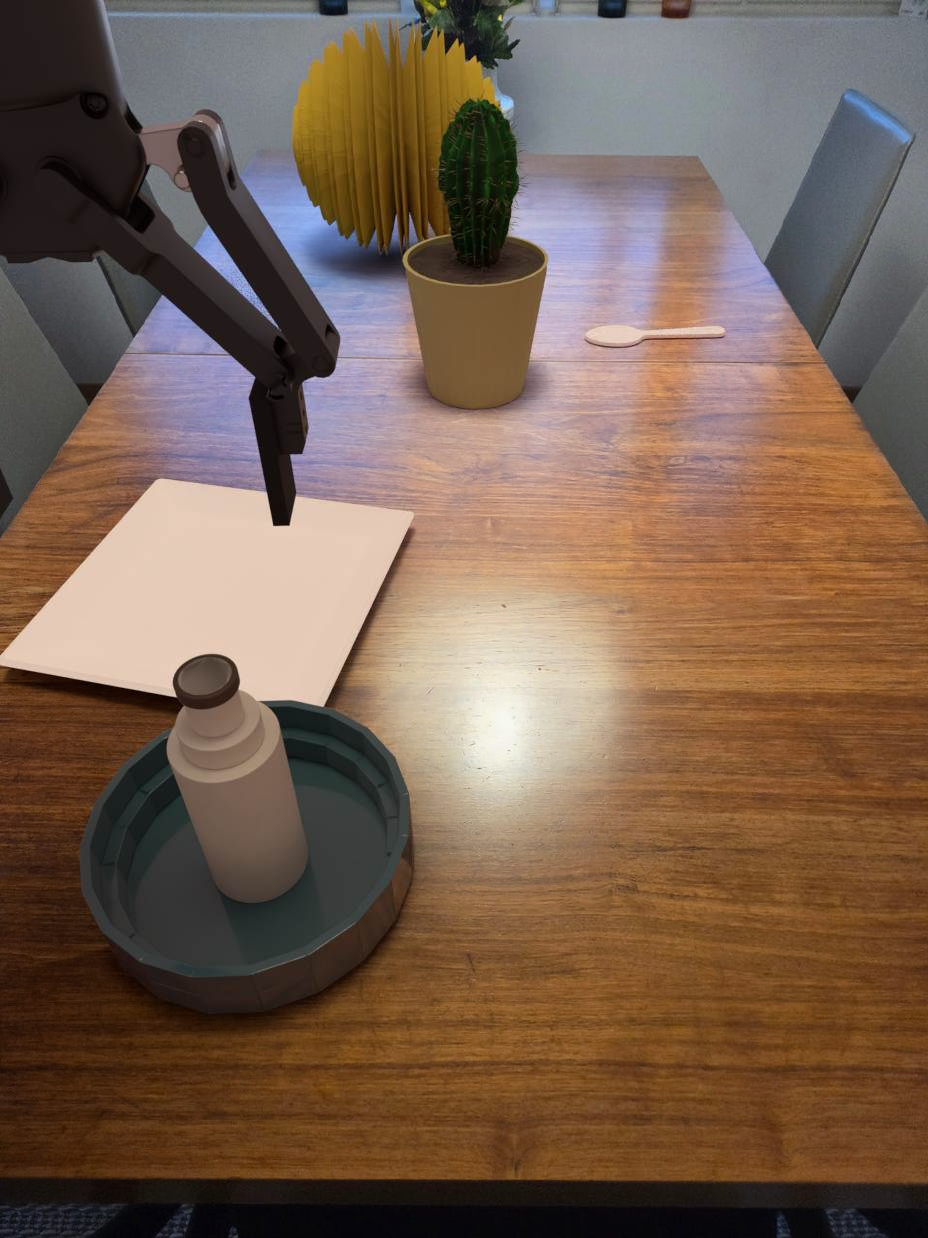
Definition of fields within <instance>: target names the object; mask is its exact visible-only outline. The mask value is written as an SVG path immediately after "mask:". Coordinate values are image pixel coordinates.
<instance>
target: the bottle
mask: <svg viewBox="0 0 928 1238" xmlns="http://www.w3.org/2000/svg"><path fill="white" fill-rule="evenodd" d="M239 685H240V677H239V673H238V669H237V666H236V665H235V663H234V662H233V661H232V660H231V659H230V658H228V657H226V656H223V655H219V654H204V655H200V656H196V657H194V658H192V659H190V660H188V661H186V662H185V663H183V664H182V665H181V666H180V667H179V668H178V669H177V671H176V672H175V674H174V677H173V688H174V690H175V693H176V696H177V697H176V698H177V700H178V701H179V703H181V705H183V706H182V707H181V709H180V711H179V712H178V714H177V716H176V720H175V722H174V723H175V724H174V726H173V727H174V728H173V727H172V728H173V729H172V731H171V733H170V735H169V738H168V742H167V756H168V760H169V762H170V765H171V768H172V770H173V773H174V776H175V778H176V781H177V784H178V786H179V789H180V792H181V794H182V797H183V799H184V802H185V805H186V807H187V810H188V813H189V815H190V818H191V821H192V823H193V826H194V829H195V831H196V834H197V837H198V839H199V842H200V845H201V847H202V850H203V853H204V855H205V858H206V861H207V863H208V866H209V868H210V871H211V874H212V876H213V879H214V881H215V884H216V885H217V887H218V888H219V890H220V891H221V892H222V893H223V894H225V895H226V896H227V897H229V898H231V899H233V900H236V901H239V902H243V903H260V902H265V901H269V900H272V899H274V898H277V897H279V896H281V895H282V894H284V893H285V892H287V891H288V890H289V889H291V888H292V887H293V886H294V885H295V884H296V883H297V882H298V880H299V879H300V878H301V876H302V874H303V873H304V870H305V868H306V865H307V861H308V847H307V843H306V838H305V834H304V829H303V825H302V821H301V816H300V812H299V808H298V803H297V799H296V795H295V790H294V786H293V782H292V777H291V773H290V769H289V764H288V760H287V756H286V751H285V747H284V743H283V738H282V734H281V730H280V725H279V722H278V719H277V717H276V716H275V714H274V713H273V712H272V710H271V709H269V708H268V707H267V706H266V705H264V704H263V703H261V702H259V701H256V700H255V699H254V698H253V697H252V696H251V695H250V694H248V693H247V692H244V691H242V690H239V689H238V688H239Z"/></svg>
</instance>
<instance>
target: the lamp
mask: <svg viewBox="0 0 928 1238" xmlns="http://www.w3.org/2000/svg"><path fill="white" fill-rule="evenodd" d="M371 28H372V29H371ZM348 33H349V34H348ZM394 36H395V37H394ZM341 46H342V47H341V50H342V51H341V50H340V48H339V47H338V45H337V44H336V43H335V42H334V41H333V40H330V42H329V46H328V45H325V46H324V49H323V59H322V62H320V60H318V59H317V58H314V59H313V63H312V64H310V65H309V68H308V77H307V81H306V80H304V79H303V80H302V81H301V84H300V87H299V89H298V93H297V94H298V95H297V104H295V105H294V107H293V113H292V131H291V140H292V142H291V143H292V145H291V146H292V152H293V157H294V158H293V159H294V161H295V164H296V170H297V175H298V177H299V179H300V182H301V185H302V187H305V189H306V193H307V197H308V200H309V201H310V202H311V204H312V206H313V207H314V208H317V207H319V210H320V214H321V217H322V219H323V221H326V223H327V225H328V226H329V227H331V225H333V224H334V222H336V226H337V231H338V233H339V236H340V237H344V239H345V240H346V241H348V240H349V239H350V238H351V236H352V234H353V233H354V232H355V234H356V235H355V236H356V240H357V241H356V242H357V245H358V248H359V249H361V248H362V247H364V249H365V251H368V249H369V247H370V244H371V242H372V239H373V237H374V234H376V240H377V247H378V252H379V255H380V256H382V254H383V250H384V251H385V255H386V256H387V257H388V256H389V252H390V249H391V248H390V247H391V242H392V238H393V233H394V228H395V224H396V223H395V222H397V231H398V240H399V250H400V256H401V258H403V256H404V244H405V248H406V251H407V250H408V249H409V248H410V219H411V221H412V225H413V229H414V232H415V235H416V238H417V241H418V242H417V243H419V242H422V241H424V240H427V239H430V237H429V226H430V227H431V229H432V231H433V233H434V235H435V237H438V236H442V235H446V234H450V233H449V232H448V231H450V227H449V226H450V223H449V215H448V214H446V212H445V211H448V207H443V208H442V206H446V204H445V201H444V200H445V199H444V195H443V196H441V195H442V194H443V193H442V192H441V191H439V190H438V189H439V188H438V186H436V185H438V184H437V182H438V177H436V175H437V176H438V174H437V173H438V171H439V170H438V167H439V157H440V155H441V144H442V143H441V142H442V138H443V135H444V134H445V133H446V130H447V127H449V124H450V122H452V121H454V120H455V118H454V119H451V117H452V118H453V116H454V115H456V114H455V113H456V112H458V111H459V109H460V107H461V106H462V105H463V104H464V103H466V101H467V100H469V99H470V98H471V99H473V101H476V102H477V99H478V98H479V101H480V100H481V101H482V100H483V99H485V100H486V98H487V100H488V101H489V103H490V104H495V106H496V107H498V104H499V102H500V103H501V99H498V100H496V91H495V84H494V83H493V82H492V80H491V77H490V76H488V77H486V78H484V79H483V68H482V62H481V61H478V60H477V55H474V56H473V57H472V58H471V59H470V60H469V61H467V62H466V52H465V51H466V50H465V43H464V42H462V43H461V44H459V39H458V37H457V38H456V39H455V40H454V42H453V44H451V47H450V48H449V49H448V51H447V53H446V52H445V51H446V47H445V33H444V28H441V30H440V33H439V35H438V26H437V24H436V25H435V28H434V30H433V32H432V35H431V37H430V39H429V42H428V44H427V47H426V49H425V52H424V54H423V49H422V46H423V45H422V22H421V19H419V24H418V27H417V31H416V34H415V18H412V23H411V27H410V31H409V37H408V43H407V46H406V47H407V48H406V54H405V57H404V58H405V59H404V63H403V55H402V46H401V39H400V29H399V19H398V17H396V21H395V35H394V30H393V26H392V18H391V15H389V17H388V61H387V58H386V55H385V51H384V48H383V44H382V41H381V37H380V34H379V31H378V26H377V24H376V21H375V19H374V18H372V21H371V27H370V25H369V22H368V20H365V23H364V47H363V45H362V44H361V41H360V40H359V38H358V36H357V35H356V32H355V30H354V28H353V27H352V26H350V27H349V32H348V31H346V30H343V34H342V45H341ZM422 54H423V55H422ZM484 89H485V90H484ZM483 92H484V93H483ZM482 94H483V96H482ZM481 96H482V98H481ZM473 97H474V98H473ZM455 98H456V99H455ZM459 98H460V99H459ZM460 100H461V101H460ZM464 100H465V101H464ZM490 100H491V101H490ZM457 101H458V102H459V103H460V104H461V106H460V104H459V103H457ZM461 102H462V103H461ZM451 104H452V105H451ZM456 106H457V107H458V108H459V109H458V108H457V107H456ZM499 106H500V108H499V107H498V108H499V110H500V111H501V112H502V113H503V107H501V106H502V105H501V104H500V105H499ZM453 107H454V108H453ZM451 108H453V110H454V109H455V110H456V111H455V110H454V111H455V112H454V111H453V110H452V109H451ZM448 111H449V112H450V114H449V112H448ZM451 113H452V114H454V115H453V116H452V114H451ZM444 116H445V117H444ZM449 116H450V117H449ZM454 117H455V116H454ZM445 118H446V119H447V120H446V119H445ZM448 119H449V120H448ZM447 121H448V122H447ZM440 137H441V138H440ZM435 141H436V142H435ZM437 142H438V143H437ZM432 145H433V146H432ZM436 146H438V147H436ZM438 152H439V153H438ZM431 154H433V155H431ZM434 155H436V156H434ZM437 156H438V157H437ZM437 159H438V160H437ZM432 168H437V169H435V171H437V173H435V171H434V170H430V169H432ZM425 170H427V171H425ZM429 171H430V172H429ZM433 171H434V172H433ZM431 172H432V173H433V174H432V173H431ZM434 174H435V175H434ZM432 178H437V179H432ZM435 180H437V181H435ZM432 181H433V182H432ZM433 183H435V184H434V185H433ZM430 184H431V185H430ZM437 188H438V189H437ZM437 190H438V191H439V192H438V191H437ZM436 191H437V192H438V193H437V192H436ZM435 192H436V193H437V194H436V193H435ZM440 192H441V194H440ZM440 196H441V197H442V198H441V197H440ZM439 197H440V198H439ZM443 199H444V200H443ZM442 200H443V201H444V202H443V201H442ZM441 201H442V202H443V203H444V204H445V205H444V204H443V203H442V202H441ZM441 203H442V205H440V204H441ZM438 205H439V206H438ZM437 206H438V207H437ZM436 207H437V208H436ZM435 208H436V209H435ZM441 209H442V210H441ZM444 209H446V210H444ZM444 213H445V214H444ZM447 213H448V212H447ZM442 214H443V215H442ZM441 216H445V217H441ZM447 218H448V219H447ZM442 219H444V220H445V221H444V220H442ZM446 219H447V220H446ZM442 221H443V222H442ZM446 222H448V223H449V224H448V223H447V224H446V225H445V223H446ZM446 226H448V227H449V228H448V227H447V228H448V229H447V228H445V227H446ZM442 229H443V230H442ZM404 242H405V243H404Z"/></svg>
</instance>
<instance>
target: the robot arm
mask: <svg viewBox="0 0 928 1238" xmlns="http://www.w3.org/2000/svg"><path fill="white" fill-rule="evenodd" d="M123 82H124V81H123V77H122V71H121V67H120V62H119V59H118V55H117V50H116V47H115V42H114V38H113V34H112V29H111V25H110V21H109V17H108V13H107V9H106V3H105V0H0V257H3V258H6V261H7V264H30V263H34V262H37V261H40V260H43V259H46V258H51V259H56V260H59V261H64V262H66V263H67V262H68V263H93V262H94V260H95V259H96V258H97V257H98V256H101V255H102V254H103V255H104V254H105V253H106V254H107V255H108V257H110V258H111V259H112V260H114V262H115V263H117V264H118V265H120V267H121V268H122V269H124V270H125V271H126V272H128V273H129V274H131V275H133V276H138V277H141V278H142V279H144V280H146V282H148V283H149V284H150V285H151V286H152V287H153V288H154V289H155V290H157V291H158V292H159V293H160V294H161V295H162V296H163V297H165V298H166V299H167V300H168V301H169V302H170V303H171V304H172V305H173V306H175V307H176V309H178V310H179V311H180V312H182V314H183V315H185V316H186V317H187V318H188V319H189V320H190V321H191V322H192V323H194V324H195V325H196V326H197V327H198V328H199V329H200V330H201V331H202V332H204V333H205V334H206V335H207V336H208V337H209V338H210V339H211V340H212V341H214V342H215V343H216V344H217V345H218V346H220V347H221V348H222V349H223V350H224V351H225V353H227V354H229V355H230V356H231V357H232V359H234V360H235V361H236V362H237V363H238V364H239V365H240V366H242V367H243V369H245V370H246V371H248V373H250V374H251V376H252V377H254V379H253V383H252V386H251V390H250V392H249V395H248V403H249V408H250V414H251V419H252V424H253V428H254V429H253V430H254V434H255V438H256V445H257V449H258V454H259V459H260V464H261V465H260V466H261V471H262V475H263V480H264V486H265V492H267V496H268V502H269V507H270V512H271V517H272V522H273V526H290V521H291V517H292V512H293V507H294V502H295V497H296V496H297V493H298V492H297V488H296V487H297V486H296V481H295V474H294V469H293V463H292V457H291V455H303V453H304V450H305V447H306V443H307V438H308V433H309V429H310V425H309V419H308V413H307V406H306V399H305V393H304V392H305V391H304V386H303V383H304V382H306V381H307V380H310V379H312V378H315V377H316V378H320V379H326V378H329V377H330V376H332V375H333V374H334V373H335V370H336V368H337V363H338V357H339V352H340V345H341V335H340V333H339V331H338V329H337V328H336V326H335V324H334V323H333V321H332V320H331V318H330V316H329V315H328V313H327V311H326V310H325V309H324V307H323V305H322V303H321V302H320V300H319V298H317V296H316V294H315V293H314V291H313V290H312V288H311V286H310V285H309V284H308V282H307V280H306V279H305V277H304V276H303V273H301V271H300V269H299V268H298V266H297V265H296V263H295V261H294V260H293V257H291V255H290V254H289V252H288V250H287V249H286V247H285V246H284V244H283V242H282V241H281V240H280V238H279V236H278V235H277V233H276V232H275V229H273V227H272V225H271V224H270V222H269V221H268V219H267V217H266V216H265V215H264V213H263V211H262V210H261V208H260V206H259V204H258V203H257V202H256V200H255V199H254V197H253V195H252V194H251V192H250V191H249V189H248V187H247V186H246V184H245V183H244V181H243V180H242V179H241V176H240V174H239V172H238V171H239V170H238V168H237V164H236V161H235V157H234V153H233V151H232V146H231V142H230V139H229V135H228V132H227V128H226V125H225V122H224V120H223V118H222V117H221V116H220V115H219V114H218V113H217V112H216V111H214V110H212V109H211V108H210V109H208V108H202V109H200V110H197V111H196V112H195V113H194V115H193V116H192V117H190V119H189V120H183V121H179V122H178V121H177V122H171V123H170V122H169V123H164V124H158V125H157V124H156V125H150V126H143V124H142V123H141V122H140V120H139V119H138V118H137V116H136V115H135V113H134V111H133V109H132V107H131V106H130V103H129V101H128V99H127V96H126V91H125V86H124V83H123ZM151 166H156V167H159V169H160V168H161V169H162V170H163V171H164V172H165V173H167V175H168V177H169V178H170V180H171V181H172V183H173V185H174V186H175V187H176V188H177V189H179V190H181V191H182V192H185V193H191V194H192V197H193V199H194V202H195V203H196V206H197V207H198V210H199V211H200V214H201V215H202V217H203V219H204V220H205V221H206V224H207V225H208V227H209V228H210V230H211V231H212V232H213V233H214V236H215V237H216V238H217V240H218V242H220V244H221V245H222V247H223V249H224V250H225V252H226V253H227V255H228V256H229V257H230V259H231V260H232V261H233V263H234V265H235V266H236V267H237V269H238V270H239V272H240V273H241V275H242V276H243V278H244V279H245V280H246V282H247V284H248V285H249V286H250V288H251V289H252V291H253V293H254V295H256V297H257V298H258V300H259V301H260V302H261V304H262V305H263V307H264V308H265V310H266V311H267V313H268V314H269V316H270V318H272V320H273V321H274V322H272V321H271V320H270V319H269V318H268V317H266V315H264V313H262V312H261V311H260V310H259V308H257V307H256V306H255V305H254V304H253V303H252V302H251V301H250V300H249V299H248V298H247V297H246V296H245V295H244V294H242V293H241V292H240V290H238V289H237V288H236V287H235V286H234V285H233V284H232V283H231V282H230V281H229V280H228V279H227V278H226V277H225V276H223V274H221V273H220V272H219V271H218V270H217V269H216V268H215V267H214V266H213V265H212V264H210V263H209V262H208V260H207V259H206V258H204V257H203V256H202V254H200V253H199V252H198V251H197V250H196V249H195V248H194V247H193V246H192V245H190V244H189V242H187V240H186V239H184V237H182V236H181V235H180V234H179V233H178V231H177V230H176V228H175V226H174V224H173V222H172V220H171V219H170V218H169V216H168V215H167V214H165V213H164V212H163V210H162V209H160V208H159V207H158V205H156V204H155V203H154V202H153V201H152V200H151V199H150V198H149V197H148V196H146V194H145V193H143V191H142V190H141V189H142V188H143V187H142V186H143V184H144V182H145V180H146V178H147V175H148V173H149V170H150V168H151ZM274 323H275V324H274ZM13 500H14V497H13V494H12V492H11V489H10V487H9V485H8V482H7V480H6V478H5V475H4V473H3V471H2V469H1V467H0V520H1V519H2V517H3V516H4V514H5V513H6V511H7V509H9V506H10V505H11V503H12V501H13Z"/></svg>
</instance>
